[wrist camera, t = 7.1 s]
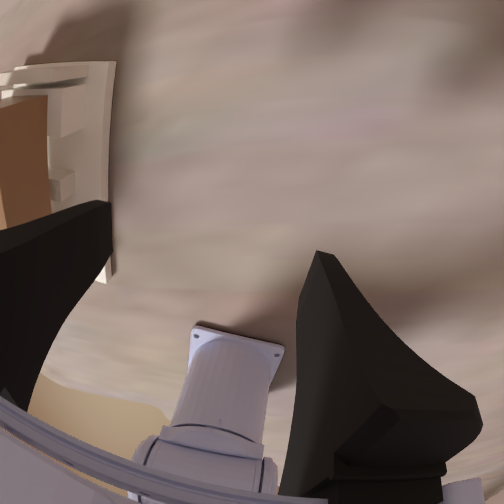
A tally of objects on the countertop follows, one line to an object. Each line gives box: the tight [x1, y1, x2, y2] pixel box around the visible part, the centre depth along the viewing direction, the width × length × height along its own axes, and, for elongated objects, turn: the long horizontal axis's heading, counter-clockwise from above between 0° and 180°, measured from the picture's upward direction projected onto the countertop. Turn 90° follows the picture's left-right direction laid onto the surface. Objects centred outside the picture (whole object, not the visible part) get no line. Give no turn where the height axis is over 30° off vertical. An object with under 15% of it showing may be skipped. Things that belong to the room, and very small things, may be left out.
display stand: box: [0, 61, 117, 284], centre depth 19 cm, size 17×9×4 cm, turn 169°
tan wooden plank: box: [0, 95, 52, 230], centre depth 16 cm, size 13×4×4 cm, turn 169°
